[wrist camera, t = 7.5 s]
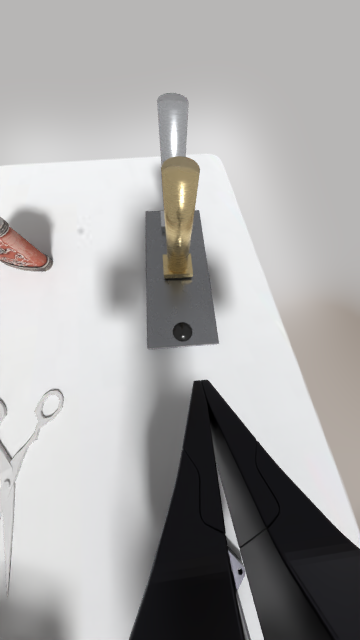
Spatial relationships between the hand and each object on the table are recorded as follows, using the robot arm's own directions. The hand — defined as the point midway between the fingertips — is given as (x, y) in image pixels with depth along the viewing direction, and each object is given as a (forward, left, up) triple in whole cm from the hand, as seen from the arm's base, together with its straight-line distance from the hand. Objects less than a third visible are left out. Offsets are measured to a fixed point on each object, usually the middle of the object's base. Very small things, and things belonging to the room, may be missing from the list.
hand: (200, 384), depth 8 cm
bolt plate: (+11, -11, -12) cm, 20 cm away
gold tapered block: (+11, -11, -11) cm, 19 cm away
